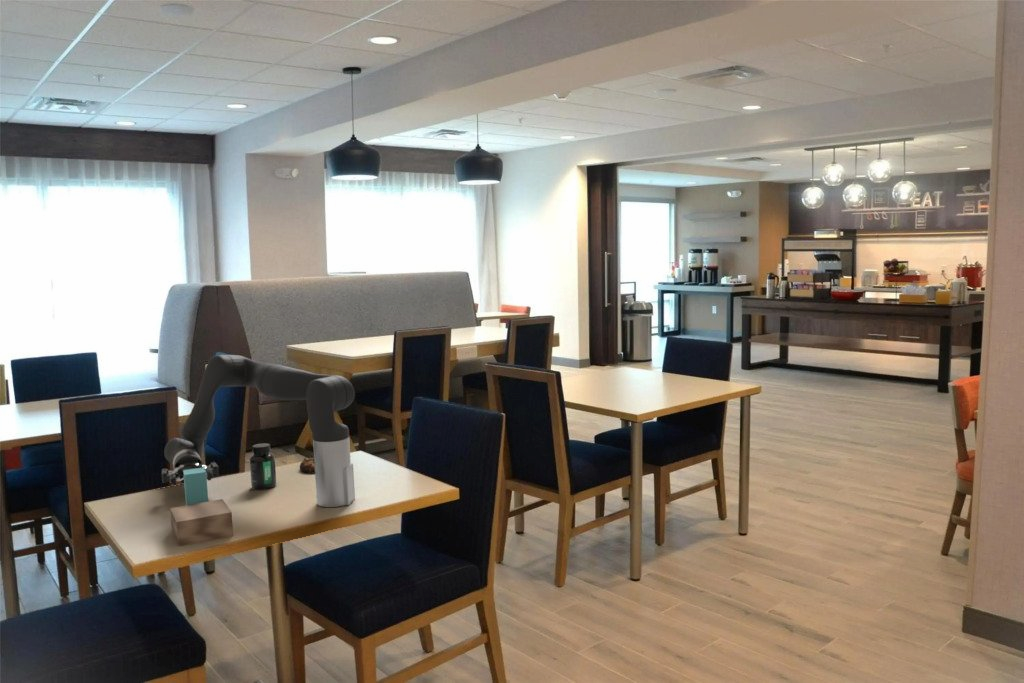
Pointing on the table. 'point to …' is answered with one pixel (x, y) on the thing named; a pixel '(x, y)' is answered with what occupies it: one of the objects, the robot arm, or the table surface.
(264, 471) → the supplement bottle
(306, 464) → the bread roll
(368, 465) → the table surface
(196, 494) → the teal post
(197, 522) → the walnut block
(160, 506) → the table surface
